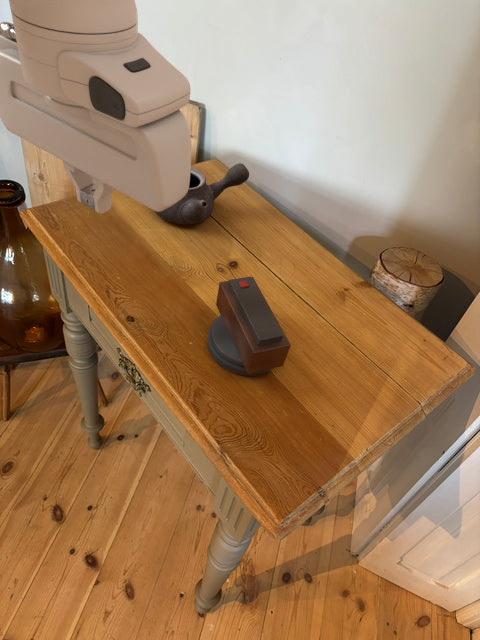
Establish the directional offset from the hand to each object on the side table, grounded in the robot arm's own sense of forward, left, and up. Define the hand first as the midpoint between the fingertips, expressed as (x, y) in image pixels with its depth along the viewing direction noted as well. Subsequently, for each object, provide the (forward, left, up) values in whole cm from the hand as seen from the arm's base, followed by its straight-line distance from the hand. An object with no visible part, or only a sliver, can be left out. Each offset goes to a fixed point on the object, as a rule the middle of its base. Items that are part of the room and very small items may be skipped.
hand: (94, 205), depth 46 cm
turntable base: (+13, +16, -27) cm, 34 cm away
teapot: (-13, +39, -27) cm, 49 cm away
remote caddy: (+13, +16, -25) cm, 33 cm away
